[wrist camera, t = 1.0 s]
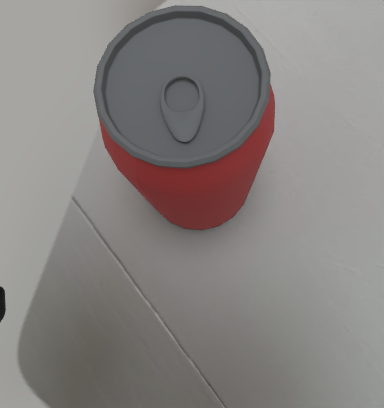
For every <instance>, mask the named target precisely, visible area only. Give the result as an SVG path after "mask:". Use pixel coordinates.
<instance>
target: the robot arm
mask: <svg viewBox="0 0 384 408" xmlns="http://www.w3.org/2000/svg"><path fill="white" fill-rule="evenodd" d="M5 310H6V309H5V291H4V289H3V288H2V287H0V322H1V320H2V319H3V317H4V314H5Z"/></svg>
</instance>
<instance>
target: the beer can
mask: <svg viewBox="0 0 384 408" xmlns="http://www.w3.org/2000/svg"><path fill="white" fill-rule="evenodd" d="M94 97H95V102H96V107H97V113H98V117H99V121H100V126H101V132H102V137H103V141H104V145H105V148H106V149H107V151H108V153H109V155H110V156H111V158H112V160H113V162H114V163H115V165H116V167H117V168H118V170H119V171H120V172H121V173H122V174H123V175H124V176H125V177H126V178H127V179H128V180H129V181H130V182H131V183H132V185H133V186H134V187H135V188H136V189H137V190H138V191H139V192H140V193H141V194H142V195H143V196H144V197H145V198H146V199H147V200H148V201H149V202H150V203H151V204H152V206H153V207H154V208H155V209H156V210H157V211H158V212H159V213H160V214H162V215H163V216H164V217H165V218H166V219H167V220H169V221H170V222H171V223H174V224H176V225H178V226H181V227H183V228H186V229H198V230H204V229H208V228H212V227H216V226H219V225H221V224H223V223H224V222H226V221H227V220H229V219H231V218H232V217H233V216H234V215H235V214H236V213H237V212H238V211H239V209H240V208H241V207H242V206H243V204H244V202H245V200H246V197H247V195H248V193H249V190H250V188H251V186H252V183H253V181H254V178H255V176H256V174H257V171H258V169H259V167H260V164H261V162H262V159H263V157H264V155H265V152H266V150H267V147H268V145H269V142H270V140H271V137H272V135H273V132H274V117H275V100H274V94H273V91H272V87H271V84H270V70H269V67H268V63H267V60H266V57H265V54H264V51H263V48H262V47H261V46H260V44H259V43H258V42H257V40H256V39H255V38H254V36H253V35H252V34H251V32H250V31H249V30H248V28H246V27H245V26H243V25H242V24H240V23H239V22H237V21H236V20H235V19H233V18H232V17H230V16H229V15H227V14H225V13H222V12H219V11H216V10H212V9H209V8H206V7H203V6H172V7H168V8H164V9H160V10H156V11H152V12H149V13H147V14H145V15H144V16H142V17H140V18H139V19H137V20H135V21H134V22H132V23H130V24H128V25H127V26H126V27H125V28H124V29H123V30H122V31H121V32H120V33H119V34H118V35H117V36H116V37H115V38H114V39H113V40H112V41H111V42H110V43H109V44H108V46H107V48H106V50H105V52H104V54H103V56H102V58H101V60H100V62H99V64H98V66H97V71H96V78H95V84H94Z"/></svg>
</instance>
